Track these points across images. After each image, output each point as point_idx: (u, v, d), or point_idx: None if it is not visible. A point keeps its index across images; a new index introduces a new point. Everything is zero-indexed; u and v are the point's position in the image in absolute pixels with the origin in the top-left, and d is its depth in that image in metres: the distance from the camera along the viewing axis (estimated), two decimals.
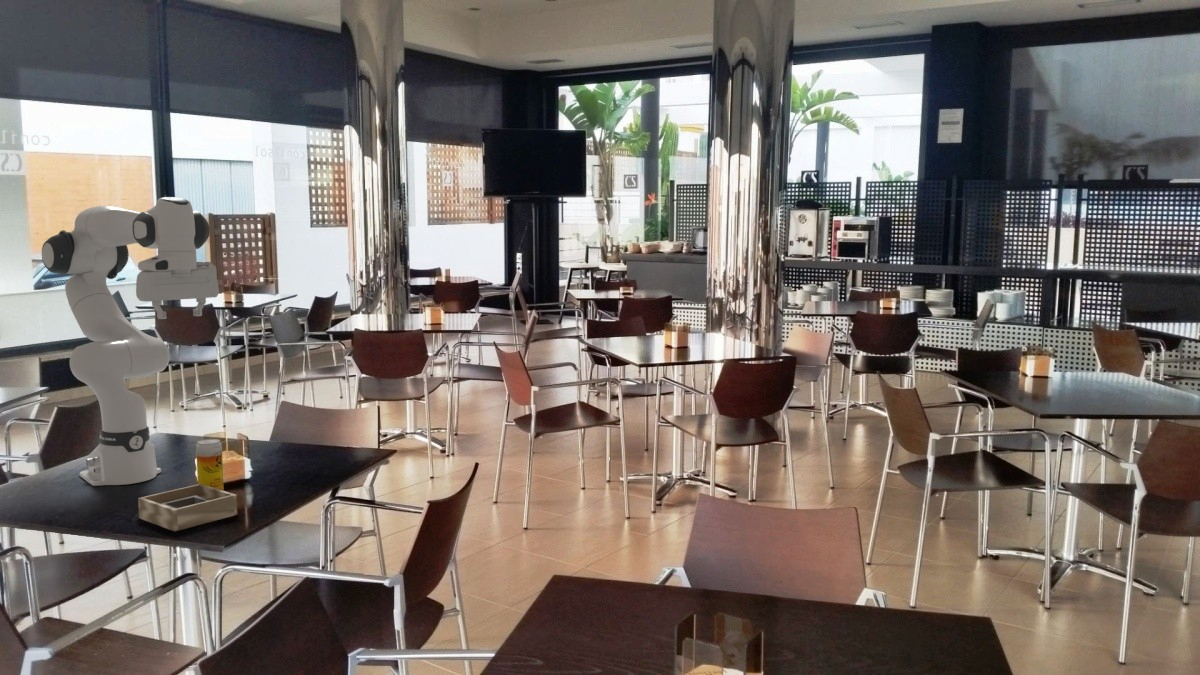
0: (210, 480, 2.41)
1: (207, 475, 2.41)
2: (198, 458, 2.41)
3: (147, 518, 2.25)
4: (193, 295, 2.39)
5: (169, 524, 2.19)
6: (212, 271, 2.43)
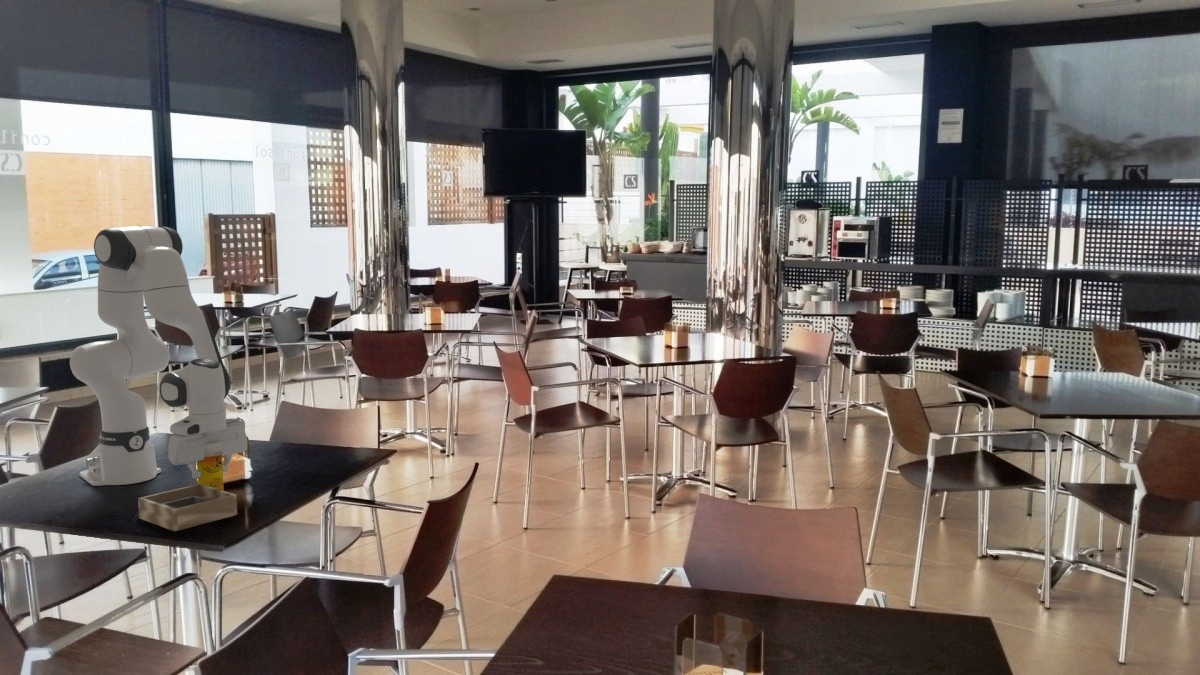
0: (210, 480, 2.41)
1: (207, 475, 2.41)
2: None
3: (147, 518, 2.25)
4: (223, 453, 2.44)
5: (169, 524, 2.19)
6: (241, 427, 2.48)
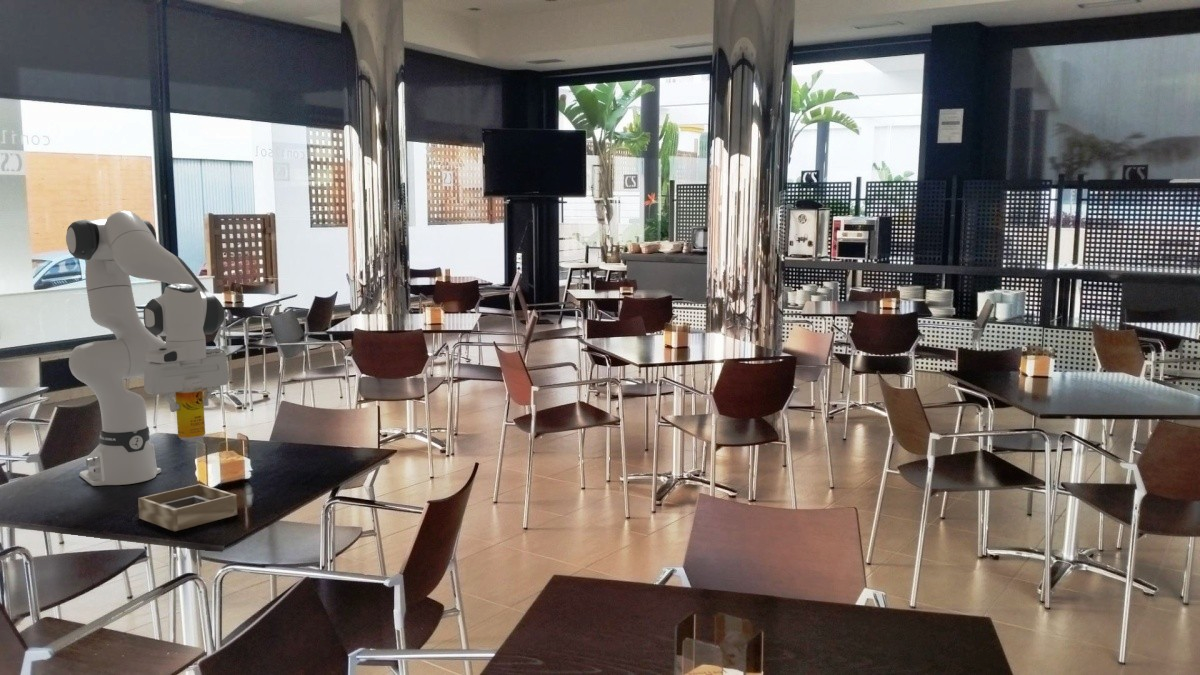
0: (190, 418, 2.26)
1: (186, 412, 2.26)
2: (177, 395, 2.26)
3: (147, 518, 2.25)
4: (203, 384, 2.29)
5: (169, 524, 2.19)
6: (222, 358, 2.33)
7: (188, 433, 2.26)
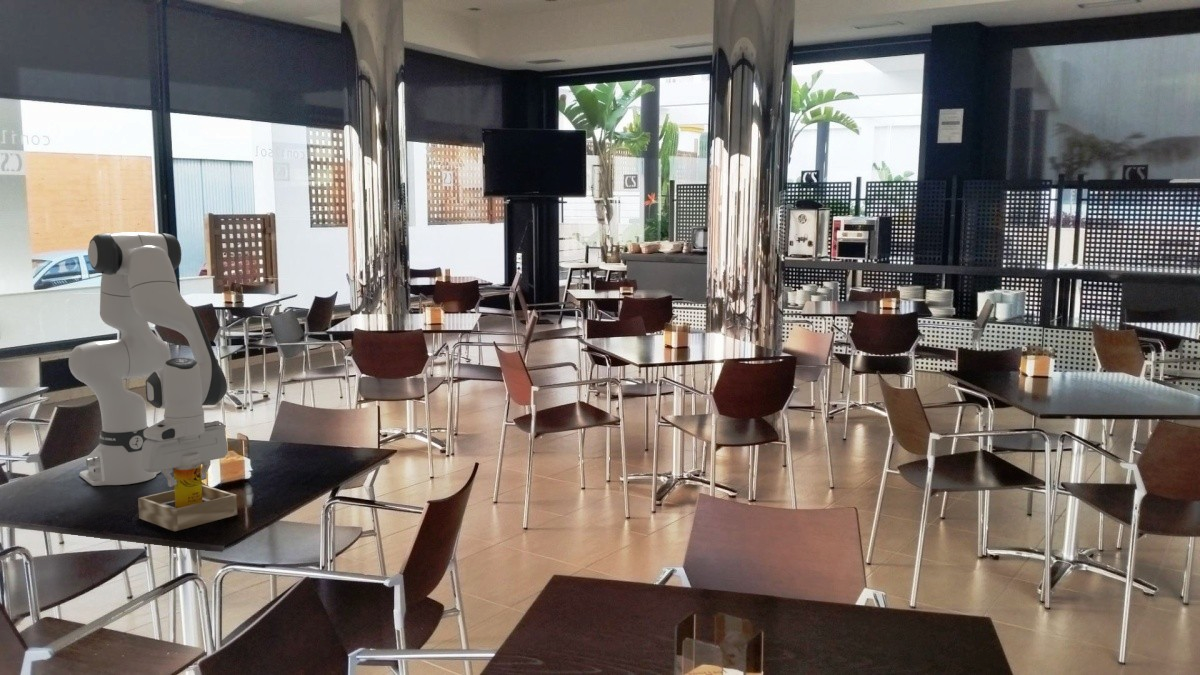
0: (188, 495, 2.25)
1: (184, 489, 2.25)
2: (175, 471, 2.25)
3: (147, 518, 2.25)
4: (201, 459, 2.29)
5: (169, 524, 2.19)
6: (220, 431, 2.32)
7: None
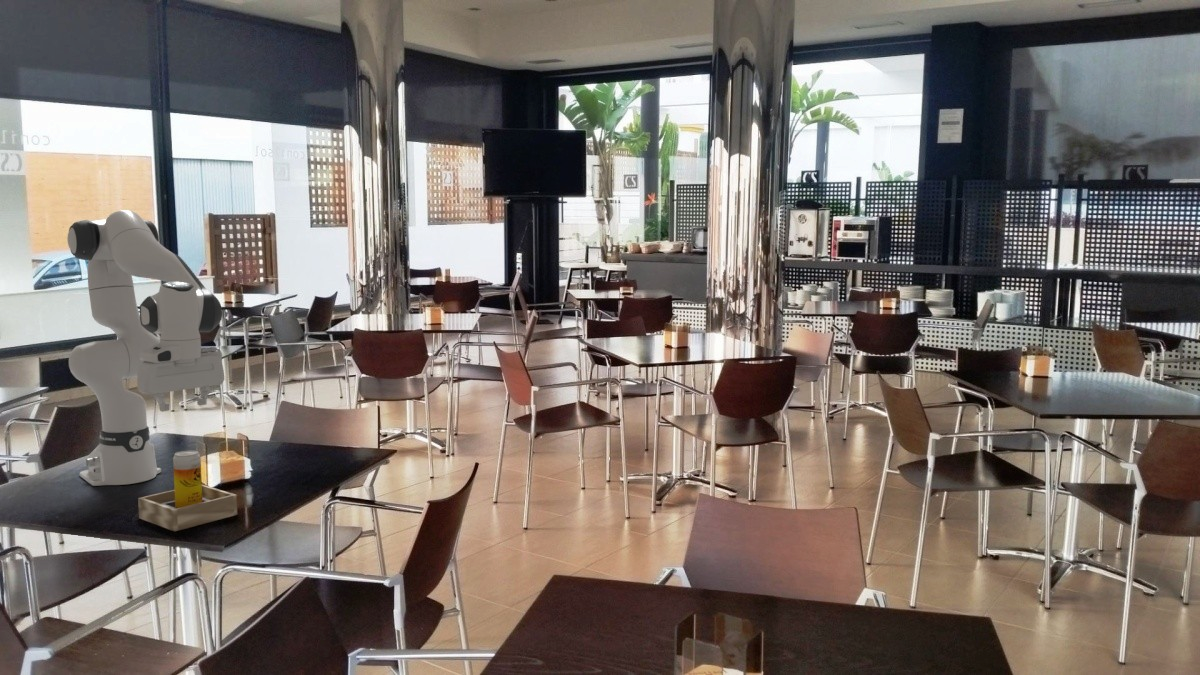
0: (188, 495, 2.25)
1: (184, 489, 2.25)
2: (175, 471, 2.25)
3: (147, 518, 2.25)
4: (197, 384, 2.27)
5: (169, 524, 2.19)
6: (217, 357, 2.30)
7: None
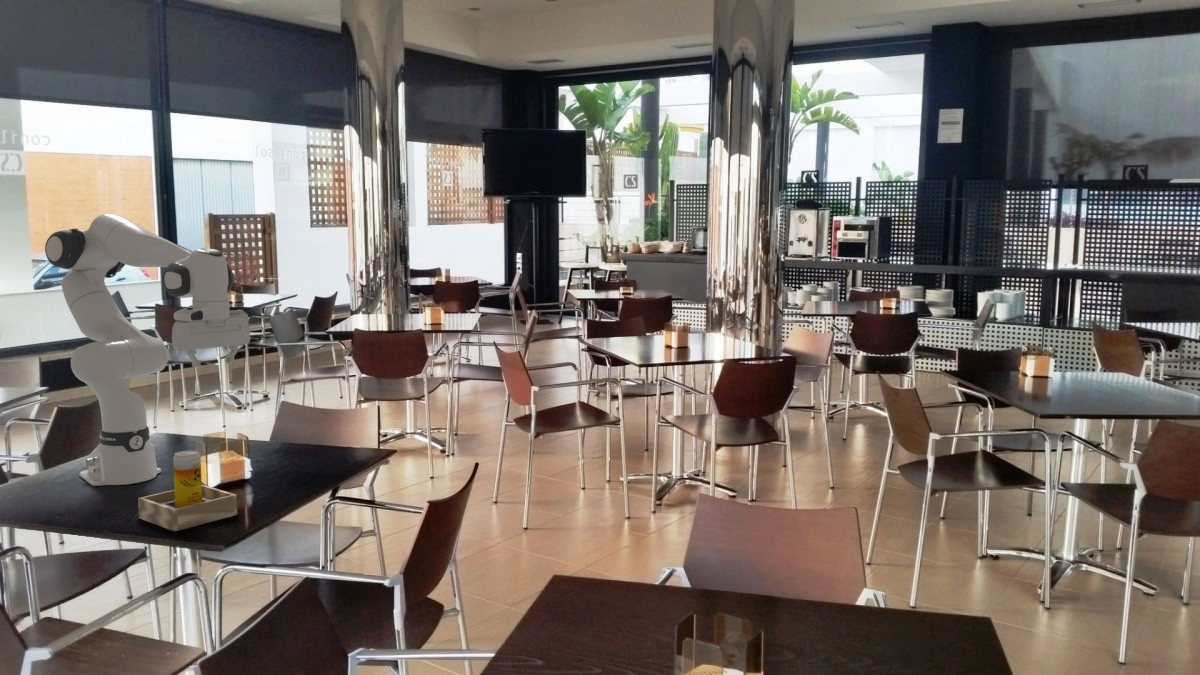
0: (188, 495, 2.25)
1: (184, 489, 2.25)
2: (175, 471, 2.25)
3: (147, 518, 2.25)
4: (226, 343, 2.46)
5: (169, 524, 2.19)
6: (244, 319, 2.50)
7: None
